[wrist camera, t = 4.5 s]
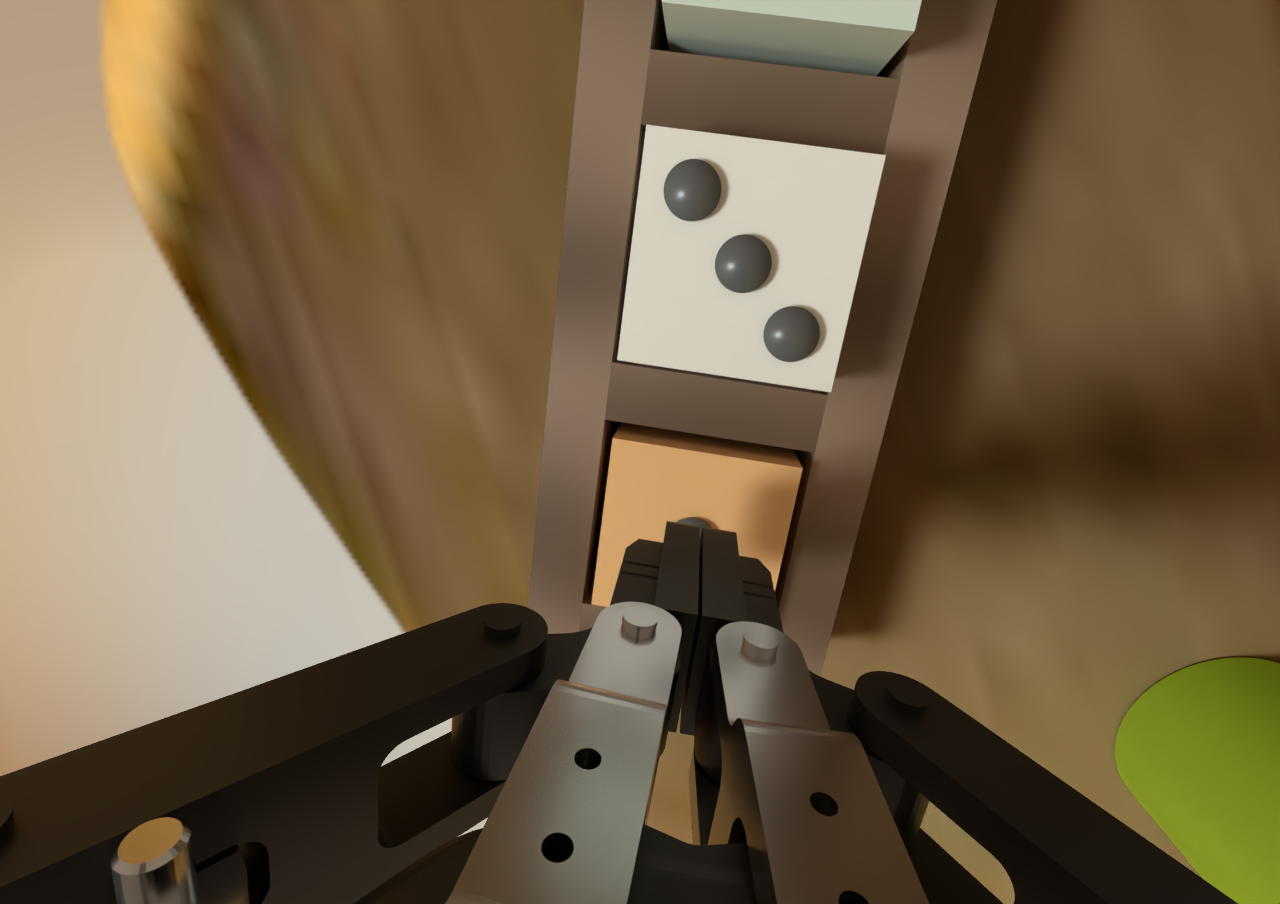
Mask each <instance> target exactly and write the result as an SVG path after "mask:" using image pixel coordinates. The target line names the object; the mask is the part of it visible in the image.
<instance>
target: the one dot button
mask: <svg viewBox="0 0 1280 904" xmlns="http://www.w3.org/2000/svg"><path fill="white" fill-rule="evenodd" d="M802 469H803V468H802V466H801V464H800V462H799V460H798V458H797V456H796V454H795V453H794V451H793V449H789V448H783V447H776V446H770V445H763V444H757V443H751V442H744V441H738V440H732V439H725V438H719V437H713V436H706V435H700V434H694V433H687V432H681V431H675V430H668V429H662V428H655V427H649V426H643V425H636V424H630V423H624V422H621V424H620V426H619V428H618V429H617V431H616V433H615V435H614V436H613V438H612V446H611V454H610V462H609V470H608V477H607V485H606V493H605V501H604V509H603V517H602V525H601V532H600V540H599V548H598V556H597V564H596V572H595V579H594V587H593V595H592V603H591V604H592V605H598V606H603V607H608V606H610V603H611V599H612V596H613V592H614V589H615V585H616V582H617V578H618V575H619V571H620V568H621V564H622V561H623V557H624V553H625V550H626V547H628V546H629V545H631V544H632V543H633V542H635V541H636V540H638V539H644V540H650V541H656V542H662V543H663V541H664V535H665V528H666V522H667V521H671V522H677V523H683V524H689V525H695V526H700V534H701V530H702V527H708V528H714V529H720V530H726V531H732V532H736V534H737V542H738V550H739V556H745V557H751V558H757V559H759V560H760V561H761V562H762V563H763V565H764V566H765V567H766V568H767V569H768V570H769V571H770V572H771V576H772V581H773V589H774V590H775V589H776V584H777V580H778V576H779V571H780V567H781V562H782V558H783V553H784V549H785V545H786V540H787V536H788V531H789V527H790V522H791V518H792V514H793V509H794V505H795V500H796V496H797V491H798V487H799V483H800V478H801V474H802Z"/></svg>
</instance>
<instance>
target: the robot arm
mask: <svg viewBox="0 0 1280 904" xmlns="http://www.w3.org/2000/svg"><path fill="white" fill-rule="evenodd" d="M680 708H681V721H680V733H682V734H688V735H693V736H694V749H693V754H692V759H691V764H690V769H689V789H690V805H691V822H692V839H693V845H692V844H688V843H685V842H683V841H680V840H678V839H676V838H674V837H671V836H669V835H667V834H665V833H662V832H660V831H658V830H656V829H654V828H651V827H649V826H647V825H646V824H647V819H648V814H649V808H650V803H651V798H652V793H653V788H654V783H655V777H656V772H657V767H658V761H659V757H660V756H661V754H662V753H663V751H664V749H665V745H666V740H667V734H668V731H671V732H676V730H677V724H678V719H679V714H680ZM450 718H452V731H451V732H449V733H447V734H445V735H443V736H441V737H439V738H437V739H435V740H433V741H431V742H429V743H427V744H425V745H423V746H421V747H419V748H417V749H415V750H413V751H411V752H409V753H408V754H405V755H403V756H401V757H399V758H397V759H395V760H393V761H391V762H390V763H387V764H385V765H384V766H382V767H381V765H382V763H383V761H384V760H385V758H386V757H387V756H388V754H389V753H390V752H391V751H392V750H393V749H394V748H395V747H396V746H397V745H399V744H400V743H402V742H403V741H405V740H407V739H409V738H411V737H413V736H415V735H417V734H419V733H421V732H423V731H425V730H428V729H430V728H432V727H434V726H436V725H438V724H440V723H442V722H444V721H446V720H448V719H450ZM929 801H930V802H932V803H933V804H934V805H935V806H936V807H937V808H939V809H940V810H941V811H942V812H943V813H944V814H946V815H947V816H948V817H949V818H950V819H951V820H952V821H954V822H955V823H956V824H957V825H958V826H959V827H961V828H962V829H963V830H964V831H965V832H966V833H968V834H969V835H970V836H971V837H972V838H973V839H975V840H976V841H977V842H978V843H979V844H980V845H982V846H983V847H984V848H985V849H986V850H987V851H988V852H990V853H991V854H992V855H993V856H994V857H995V858H996V859H997V860H998V861H999V862H1000V863H1001V864H1002V866H1003V867H1004V869H1005V870H1006V872H1007V873H1008V875H1009V877H1010V879H1011V881H1012V884H1013V887H1014V892H1015V901H1014V904H1238V903H1237V902H1235V901H1234V900H1232V899H1231V898H1229V897H1228V896H1227V895H1225V894H1224V893H1222V892H1221V891H1219V890H1218V889H1217V888H1215V887H1214V886H1212V885H1211V884H1209V883H1208V882H1207V881H1205V880H1204V879H1202V878H1201V877H1199V876H1198V875H1197V874H1195V873H1194V872H1192V871H1191V870H1189V869H1188V868H1187V867H1185V866H1184V865H1182V864H1181V863H1179V862H1178V861H1177V860H1175V859H1174V858H1172V857H1171V856H1169V855H1168V854H1166V853H1165V852H1164V851H1162V850H1161V849H1159V848H1158V847H1156V846H1155V845H1154V844H1152V843H1151V842H1149V841H1148V840H1146V839H1145V838H1144V837H1142V836H1141V835H1139V834H1138V833H1136V832H1135V831H1134V830H1132V829H1131V828H1129V827H1128V826H1126V825H1125V824H1124V823H1122V822H1121V821H1119V820H1118V819H1116V818H1115V817H1114V816H1112V815H1111V814H1109V813H1108V812H1106V811H1105V810H1104V809H1102V808H1101V807H1099V806H1098V805H1096V804H1095V803H1093V802H1092V801H1091V800H1089V799H1088V798H1086V797H1085V796H1083V795H1082V794H1081V793H1079V792H1078V791H1076V790H1075V789H1073V788H1072V787H1071V786H1069V785H1068V784H1066V783H1065V782H1063V781H1062V780H1061V779H1059V778H1058V777H1056V776H1055V775H1053V774H1052V773H1051V772H1049V771H1048V770H1046V769H1045V768H1043V767H1042V766H1041V765H1039V764H1038V763H1036V762H1035V761H1033V760H1032V759H1030V758H1029V757H1028V756H1026V755H1025V754H1023V753H1022V752H1020V751H1019V750H1018V749H1016V748H1015V747H1013V746H1012V745H1010V744H1009V743H1008V742H1006V741H1005V740H1003V739H1002V738H1000V737H999V736H998V735H996V734H995V733H993V732H992V731H990V730H989V729H988V728H986V727H985V726H983V725H982V724H980V723H979V722H978V721H976V720H975V719H973V718H972V717H970V716H969V715H968V714H966V713H965V712H963V711H962V710H960V709H959V708H957V707H956V706H955V705H953V704H952V703H950V702H949V701H947V700H946V699H945V698H943V697H942V696H940V695H939V694H937V693H936V692H935V691H933V690H932V689H930V688H929V687H927V686H925V685H924V684H922V683H920V682H918V681H916V680H914V679H911V678H909V677H906V676H903V675H900V674H896V673H892V672H885V671H874V672H869V673H865V674H863V675H862V676H860V677H859V678H858V680H857V682H856V685H855V688H854V690H852V689H850V688H847V687H844V686H842V685H839V684H837V683H834V682H832V681H829V680H827V679H824V678H822V677H820V676H818V675H816V674H814V673H813V672H811V671H810V670H808V668H807V665H806V662H805V659H804V657H803V654H802V652H801V650H800V648H799V646H798V645H797V644H796V643H795V642H794V641H793V640H792V639H791V638H790V637H789V636H787V635H786V634H784V632H783V627H782V623H781V618H780V613H779V609H778V604H777V600H776V595H775V590H774V589H773V581H772V576H771V572H770V571H769V570H768V569H767V568H766V567H765V566H764V565H763V563H762V562H761V561H760V560H759V559H757V558H751V557H745V556H739V550H738V542H737V534H736V532H732V531H726V530H720V529H714V528H708V527H702V530H701V534H700V526H695V525H689V524H683V523H677V522H671V521H667V522H666V528H665V535H664V541H663V543H662V542H656V541H650V540H644V539H638V540H636V541H635V542H633V543H632V544H631V545H629V546H628V547H626V550H625V553H624V557H623V561H622V564H621V568H620V571H619V575H618V578H617V582H616V585H615V589H614V592H613V596H612V599H611V603H610V606H608V607H606V608H605V609H603V610H602V611H601V612H600V614H599V615H598V617H597V619H596V621H595V624H594V626H593V627H592V628H589V629H587V630H583V631H580V632H574V633H558V634H548V626H547V623H546V621H545V620H544V618H543V617H542V616H541V615H540V614H538V613H537V612H535V611H534V610H532V609H529V608H527V607H524V606H521V605H516V604H508V603H497V604H489V605H484V606H480V607H477V608H474V609H471V610H468V611H466V612H463V613H460V614H457V615H454V616H452V617H449V618H446V619H443V620H440V621H437V622H435V623H432V624H429V625H426V626H423V627H421V628H418V629H415V630H412V631H409V632H406V633H404V634H401V635H398V636H395V637H392V638H390V639H387V640H384V641H381V642H378V643H375V644H373V645H370V646H367V647H364V648H361V649H359V650H356V651H353V652H350V653H347V654H344V655H342V656H339V657H336V658H333V659H330V660H328V661H325V662H322V663H319V664H316V665H313V666H311V667H308V668H305V669H302V670H299V671H296V672H294V673H291V674H288V675H285V676H283V677H280V678H277V679H274V680H271V681H268V682H265V683H263V684H260V685H257V686H254V687H252V688H249V689H246V690H243V691H240V692H238V693H235V694H232V695H229V696H226V697H223V698H220V699H218V700H215V701H212V702H209V703H206V704H203V705H201V706H198V707H195V708H192V709H189V710H187V711H184V712H181V713H178V714H176V715H172V716H170V717H167V718H164V719H161V720H158V721H155V722H153V723H150V724H147V725H144V726H142V727H139V728H136V729H133V730H130V731H127V732H125V733H122V734H119V735H116V736H113V737H110V738H108V739H105V740H102V741H99V742H96V743H93V744H91V745H88V746H85V747H82V748H80V749H77V750H74V751H71V752H68V753H65V754H63V755H60V756H57V757H54V758H51V759H48V760H45V761H43V762H40V763H37V764H35V765H31V766H29V767H26V768H23V769H20V770H17V771H15V772H12V773H9V774H6V775H3V776H0V904H1003V903H1002V902H1001V901H1000V900H999V899H998V898H996V897H995V896H994V895H993V894H992V893H991V892H990V891H989V890H988V889H987V888H986V887H984V886H983V885H982V884H981V883H980V882H979V881H978V880H977V879H976V878H975V877H973V876H972V875H971V874H970V873H969V872H968V871H967V870H966V869H965V868H964V867H962V866H961V865H960V864H959V863H958V862H957V861H956V860H955V859H954V858H953V857H952V856H950V855H949V854H948V853H947V852H946V851H945V850H944V849H943V848H942V847H941V846H939V845H938V844H937V843H936V842H935V841H934V840H933V839H932V838H931V837H930V836H929V835H927V834H926V833H925V832H924V831H923V830H922V829H921V828H920V825H921V822H922V820H923V817H924V814H925V811H926V808H927V806H928V803H929ZM487 817H488V819H487V821H486V823H485V826H484V828H482V829H478V830H475V831H472V832H469V833H467V834H464V835H462V836H459V835H461V834H462V833H464V832H465V831H467V830H469V829H470V828H471V827H473V826H475V825H476V824H477V823H479V822H481V821H482V820H484V819H485V818H487ZM458 836H459V837H458ZM456 837H457V838H456Z"/></svg>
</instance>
